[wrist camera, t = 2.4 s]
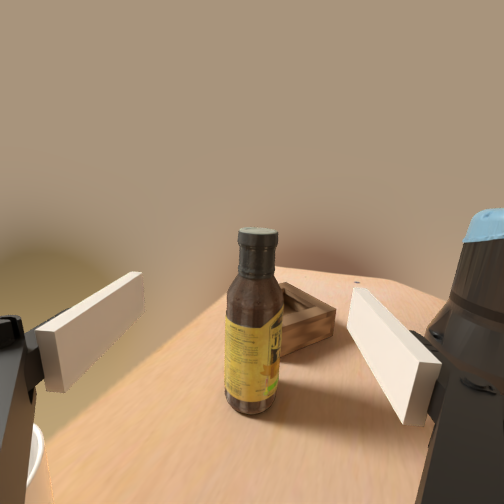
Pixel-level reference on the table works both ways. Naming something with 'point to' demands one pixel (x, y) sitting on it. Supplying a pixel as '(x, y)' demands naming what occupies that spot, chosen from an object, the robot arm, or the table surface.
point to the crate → (304, 319)
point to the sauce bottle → (253, 324)
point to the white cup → (38, 472)
